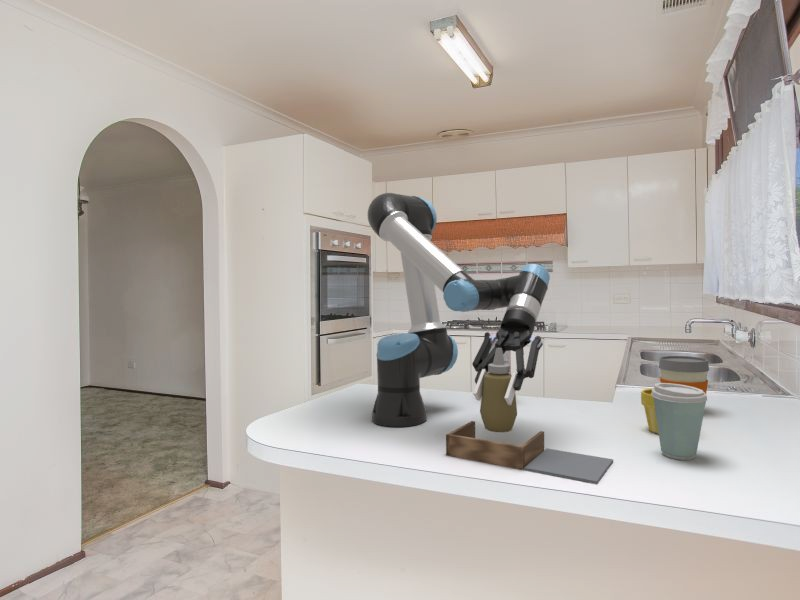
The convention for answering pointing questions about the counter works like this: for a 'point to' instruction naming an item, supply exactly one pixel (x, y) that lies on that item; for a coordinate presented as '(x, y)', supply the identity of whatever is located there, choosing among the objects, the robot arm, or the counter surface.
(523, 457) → the walnut nook
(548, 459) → the slate mat
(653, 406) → the plant pot
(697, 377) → the reusable coffee cup
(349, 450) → the counter surface
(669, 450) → the disposable coffee cup
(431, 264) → the robot arm
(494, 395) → the squeeze bottle
